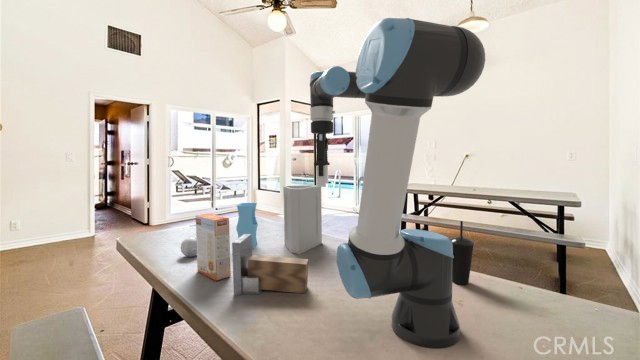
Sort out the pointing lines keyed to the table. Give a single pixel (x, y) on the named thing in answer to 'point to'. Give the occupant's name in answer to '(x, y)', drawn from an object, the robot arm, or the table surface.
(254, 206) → the vase
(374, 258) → the robot arm
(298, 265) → the rail
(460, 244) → the drinking cup
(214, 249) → the cracker box
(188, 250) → the bath bomb
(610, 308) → the table surface
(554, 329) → the table surface
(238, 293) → the bracket
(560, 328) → the table surface
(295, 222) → the white triangular prism
